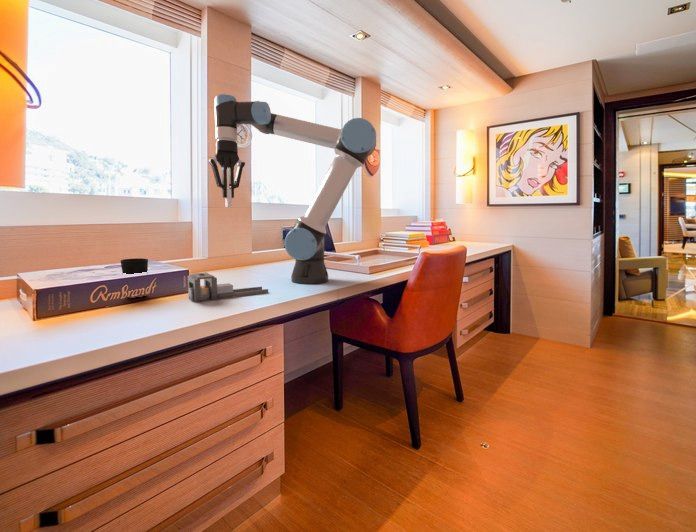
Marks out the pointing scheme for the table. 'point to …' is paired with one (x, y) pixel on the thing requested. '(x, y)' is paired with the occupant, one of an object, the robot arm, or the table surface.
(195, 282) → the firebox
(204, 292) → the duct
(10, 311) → the table surface
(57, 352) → the table surface
